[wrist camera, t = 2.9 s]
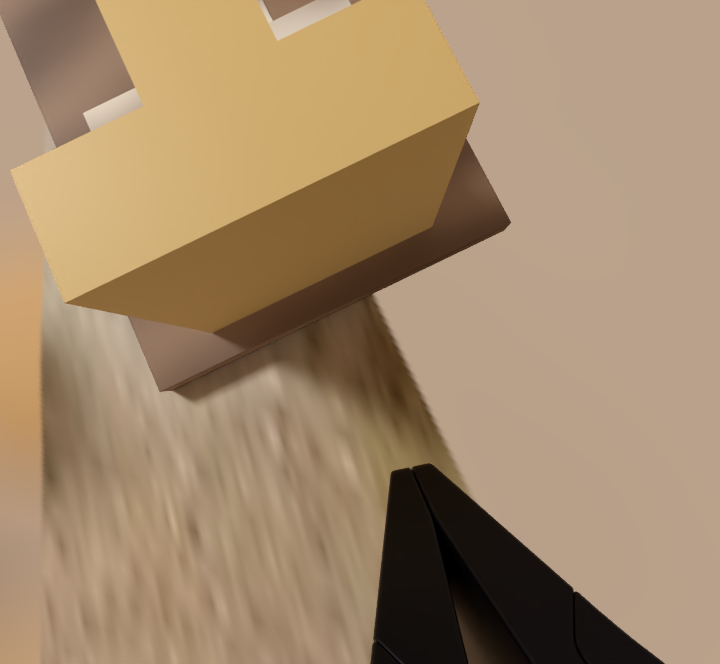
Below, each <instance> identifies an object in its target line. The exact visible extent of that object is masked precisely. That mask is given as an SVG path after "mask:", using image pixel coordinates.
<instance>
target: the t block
mask: <svg viewBox="0 0 720 664" xmlns="http://www.w3.org/2000/svg"><path fill="white" fill-rule="evenodd" d="M96 3H97V5H98V7H99V9H100V11H101V14H102V16H103V18H104V20H105V22H106V25H107V27H108V29H109V31H110V33H111V36H112V38H113V40H114V42H115V44H116V47H117V49H118V51H119V53H120V55H121V58H122V60H123V62H124V64H125V66H126V69H127V71H128V73H129V75H130V77H131V80H132V82H133V84H134V86H135V88H136V91H137V93H138V95H139V97H140V100H141V102H142V104H143V106H142V107H140V108H138V109H136V110H134V111H132V112H130V113H128V114H126V115H124V116H122V117H119V118H117V119H115V120H113V121H111V122H109V123H107V124H105V125H103V126H101V127H99V128H97V129H95V130H93V131H91V132H89V133H86V134H84V135H82V136H80V137H78V138H76V139H74V140H72V141H70V142H68V143H66V144H64V145H62V146H60V147H58V148H56V149H53V150H51V151H49V152H47V153H45V154H43V155H41V156H39V157H37V158H35V159H33V160H31V161H29V162H27V163H25V164H23V165H20V166H18V167H16V168H14V169H12V170H10V172H11V174H12V177H13V179H14V182H15V184H16V187H17V189H18V191H19V194H20V196H21V198H22V201H23V203H24V206H25V208H26V211H27V213H28V215H29V218H30V220H31V223H32V225H33V228H34V230H35V233H36V235H37V237H38V240H39V242H40V245H41V247H42V249H43V252H44V254H45V257H46V259H47V261H48V264H49V266H50V269H51V271H52V274H53V276H54V278H55V281H56V283H57V286H58V288H59V290H60V293H61V295H62V298H63V300H64V303H67V304H72V305H77V306H82V307H87V308H92V309H97V310H101V311H106V312H111V313H116V314H121V315H126V316H131V317H136V318H141V319H146V320H150V321H155V322H160V323H165V324H170V325H175V326H180V327H185V328H190V329H195V330H199V331H204V332H209V333H213V332H215V331H217V330H219V329H221V328H223V327H226V326H228V325H230V324H232V323H234V322H236V321H238V320H240V319H242V318H244V317H246V316H248V315H250V314H253V313H255V312H257V311H259V310H261V309H263V308H265V307H267V306H269V305H271V304H273V303H275V302H277V301H279V300H282V299H284V298H286V297H288V296H290V295H292V294H294V293H296V292H298V291H300V290H302V289H304V288H306V287H309V286H311V285H313V284H315V283H317V282H319V281H321V280H323V279H325V278H327V277H329V276H331V275H333V274H335V273H338V272H340V271H342V270H344V269H346V268H348V267H350V266H352V265H354V264H356V263H358V262H360V261H362V260H365V259H367V258H369V257H371V256H373V255H375V254H377V253H379V252H381V251H383V250H385V249H387V248H389V247H391V246H394V245H396V244H398V243H400V242H402V241H404V240H406V239H408V238H410V237H412V236H414V235H416V234H418V233H421V232H423V231H425V230H427V229H429V228H431V227H432V226H433V224H434V221H435V218H436V216H437V213H438V210H439V208H440V205H441V203H442V200H443V197H444V195H445V192H446V189H447V187H448V184H449V182H450V179H451V176H452V174H453V171H454V169H455V166H456V163H457V161H458V158H459V155H460V153H461V150H462V148H463V145H464V142H465V140H466V137H467V134H468V132H469V129H470V127H471V124H472V121H473V119H474V116H475V113H476V111H477V108H478V106H479V100H478V99H477V97H476V95H475V93H474V91H473V89H472V87H471V86H470V84H469V82H468V80H467V78H466V76H465V74H464V72H463V71H462V69H461V67H460V65H459V63H458V61H457V59H456V58H455V56H454V54H453V52H452V50H451V48H450V46H449V45H448V43H447V41H446V39H445V37H444V35H443V33H442V32H441V30H440V28H439V26H438V24H437V22H436V20H435V19H434V17H433V15H432V13H431V11H430V9H429V7H428V6H427V4H426V2H425V0H361V1H359V2H357V3H355V4H353V5H351V6H348V7H346V8H344V9H342V10H340V11H338V12H336V13H334V14H332V15H330V16H328V17H326V18H324V19H322V20H320V21H318V22H315V23H313V24H311V25H309V26H307V27H305V28H303V29H301V30H299V31H297V32H295V33H293V34H291V35H289V36H287V37H285V38H282V39H280V40H278V41H277V39H276V37H275V35H274V33H273V31H272V29H271V27H270V25H269V23H268V21H267V19H266V17H265V15H264V13H263V11H262V9H261V7H260V5H259V3H258V1H257V0H96Z"/></svg>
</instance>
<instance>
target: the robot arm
mask: <svg viewBox="0 0 720 664" xmlns="http://www.w3.org/2000/svg"><path fill="white" fill-rule="evenodd" d="M373 639H374V643H373V645H372V654H371V663H370V664H469V663H470V664H664V663H663V662H662V661H661V660H660V659H658V658H657V657H656V656H654V655H653V654H652V653H650V652H649V651H648V650H647V649H645V648H644V647H643V646H641V645H640V644H639V643H637V642H636V641H635V640H634V639H632V638H631V637H630V636H629V635H627V634H626V633H625V632H624V631H623V630H621V629H620V628H619V627H617V625H615V624H614V623H613V622H612V621H611V620H609V619H608V618H607V617H606V616H605V615H604V614H602V613H601V612H600V611H599V610H598V609H596V608H595V607H594V606H593V605H592V604H591V603H590V602H589V601H587V600H586V599H585V598H584V597H583V596H581V594H580V593H578V592H574V591H573V588H572V587H571V586H570V585H569V584H568V583H567V582H565V581H564V580H563V579H562V578H561V577H560V576H559V575H557V574H556V573H555V572H554V571H553V570H552V569H551V568H550V567H549V566H547V565H546V564H545V563H544V562H543V561H542V560H541V559H539V558H538V557H537V556H536V555H535V554H534V553H533V552H531V551H530V550H529V549H528V548H527V547H526V546H525V545H523V544H522V543H521V542H520V541H519V540H518V539H517V538H516V537H514V536H513V535H512V534H511V533H510V532H508V531H507V530H506V529H505V528H504V527H503V526H502V525H501V524H499V523H498V522H497V521H496V520H495V519H494V518H493V517H491V516H490V515H489V514H488V513H487V512H486V511H485V510H484V509H482V508H481V507H480V506H479V505H478V504H477V503H476V502H475V501H473V500H472V499H471V498H470V497H469V496H468V495H467V494H465V493H464V492H463V491H462V490H461V489H460V488H459V487H457V486H456V485H455V484H454V483H453V482H452V481H451V480H450V479H448V478H447V477H446V476H445V475H444V474H443V473H442V472H440V471H439V470H438V469H437V468H436V467H435V466H434V465H432V464H429V463H428V464H423V465H418V466H414V467H413V468H412V469H410V468H404V469H399V470H395V471H392V472H391V476H390V486H389V495H388V505H387V514H386V524H385V533H384V542H383V552H382V561H381V571H380V580H379V590H378V599H377V609H376V618H375V628H374V637H373ZM467 658H468V659H467ZM468 661H469V663H468Z"/></svg>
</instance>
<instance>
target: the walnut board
mask: <svg viewBox="0 0 720 664" xmlns="http://www.w3.org/2000/svg"><path fill="white" fill-rule="evenodd" d="M257 1H258V3H259V5H260V7H261V9H262V11H263V13H264V15H265V17H266V19H267V21H268V23H269V25H270V27H271V29H272V31H273V33H274V35H275V37H276V39H277V41H278V40H280V39H282V38H285V37H287V36H289V35H291V34H293V33H295V32H297V31H299V30H301V29H303V28H305V27H307V26H309V25H311V24H313V23H315V22H318V21H320V20H322V19H324V18H326V17H328V16H330V15H332V14H334V13H336V12H338V11H340V10H342V9H344V8H346V7H348V6H351V5H353V4H355V3H357V2H359V1H361V0H257ZM0 15H1V18H2V20H3V22H4V25H5V27H6V30H7V32H8V34H9V37H10V39H11V41H12V44H13V46H14V48H15V51H16V53H17V55H18V58H19V60H20V63H21V65H22V67H23V70H24V72H25V74H26V77H27V79H28V81H29V84H30V86H31V89H32V91H33V93H34V96H35V98H36V100H37V103H38V105H39V108H40V110H41V112H42V115H43V117H44V119H45V122H46V124H47V127H48V129H49V131H50V134H51V136H52V138H53V141H54V143H55V145H56V148H58V147H60V146H62V145H64V144H66V143H68V142H70V141H72V140H74V139H76V138H78V137H80V136H82V135H84V134H86V133H89V132H91V131H93V130H95V129H97V128H99V127H101V126H103V125H105V124H107V123H109V122H111V121H113V120H115V119H117V118H119V117H122V116H124V115H126V114H128V113H130V112H132V111H134V110H136V109H138V108H140V107H142V106H143V104H142V102H141V100H140V97H139V95H138V93H137V91H136V88H135V86H134V84H133V82H132V80H131V77H130V75H129V73H128V71H127V69H126V66H125V64H124V62H123V60H122V58H121V55H120V53H119V51H118V49H117V47H116V44H115V42H114V40H113V38H112V36H111V33H110V31H109V29H108V27H107V25H106V22H105V20H104V18H103V16H102V14H101V11H100V9H99V7H98V5H97V3H96V0H0ZM510 223H511V222H510V220H509V218H508V216H507V214H506V212H505V211H504V208H503V207H502V205H501V203H500V201H499V199H498V197H497V195H496V194H495V192H494V190H493V188H492V186H491V184H490V182H489V180H488V179H487V177H486V175H485V173H484V171H483V169H482V167H481V166H480V164H479V162H478V160H477V158H476V156H475V154H474V152H473V150H472V149H471V147H470V145H469V143H468V141H467V139H466V140H465V142H464V145H463V148H462V150H461V153H460V155H459V158H458V161H457V163H456V166H455V169H454V171H453V174H452V176H451V179H450V182H449V184H448V187H447V189H446V192H445V195H444V197H443V200H442V203H441V205H440V208H439V210H438V213H437V216H436V218H435V221H434V224H433V226H432V227H431V228H429V229H427V230H425V231H423V232H421V233H418V234H416V235H414V236H412V237H410V238H408V239H406V240H404V241H402V242H400V243H398V244H396V245H394V246H391V247H389V248H387V249H385V250H383V251H381V252H379V253H377V254H375V255H373V256H371V257H369V258H367V259H365V260H362V261H360V262H358V263H356V264H354V265H352V266H350V267H348V268H346V269H344V270H342V271H340V272H338V273H335V274H333V275H331V276H329V277H327V278H325V279H323V280H321V281H319V282H317V283H315V284H313V285H311V286H309V287H306V288H304V289H302V290H300V291H298V292H296V293H294V294H292V295H290V296H288V297H286V298H284V299H282V300H279V301H277V302H275V303H273V304H271V305H269V306H267V307H265V308H263V309H261V310H259V311H257V312H255V313H253V314H250V315H248V316H246V317H244V318H242V319H240V320H238V321H236V322H234V323H232V324H230V325H228V326H226V327H223V328H221V329H219V330H217V331H215V332H213V333H209V332H204V331H199V330H195V329H190V328H185V327H180V326H175V325H170V324H165V323H160V322H155V321H150V320H146V319H141V318H136V317H131V316H128V318H129V320H130V323H131V325H132V327H133V330H134V332H135V334H136V337H137V339H138V342H139V344H140V346H141V349H142V351H143V353H144V356H145V358H146V360H147V363H148V365H149V368H150V370H151V372H152V375H153V377H154V379H155V382H156V384H157V386H158V389H159V391H160V392H162V391H172V390H174V389H176V388H178V387H180V386H182V385H184V384H186V383H188V382H190V381H192V380H195V379H197V378H199V377H201V376H203V375H205V374H207V373H209V372H211V371H213V370H215V369H217V368H219V367H222V366H224V365H226V364H228V363H230V362H232V361H234V360H236V359H238V358H240V357H242V356H244V355H246V354H249V353H251V352H253V351H255V350H257V349H259V348H261V347H263V346H265V345H267V344H269V343H271V342H273V341H275V340H278V339H280V338H282V337H284V336H286V335H288V334H290V333H292V332H294V331H296V330H298V329H300V328H302V327H305V326H307V325H309V324H311V323H313V322H315V321H317V320H319V319H321V318H323V317H325V316H327V315H329V314H332V313H334V312H336V311H338V310H340V309H342V308H344V307H346V306H348V305H350V304H352V303H354V302H356V301H359V300H361V299H363V298H365V297H367V296H369V295H371V294H373V293H375V292H377V291H379V290H381V289H383V288H386V287H388V286H389V285H392V284H394V283H396V282H398V281H400V280H402V279H404V278H406V277H408V276H410V275H412V274H415V273H416V272H419V271H420V270H423V269H425V268H427V267H429V266H431V265H433V264H435V263H437V262H439V261H441V260H444V259H445V258H448V257H450V256H452V255H454V254H456V253H458V252H460V251H462V250H464V249H466V248H469V247H471V246H473V245H475V244H477V243H479V242H481V241H483V240H485V239H487V238H489V237H491V236H493V235H496V234H497V233H499V232H502V231H504V230H505V229H506V228H507V226H508V225H509V224H510Z"/></svg>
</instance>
